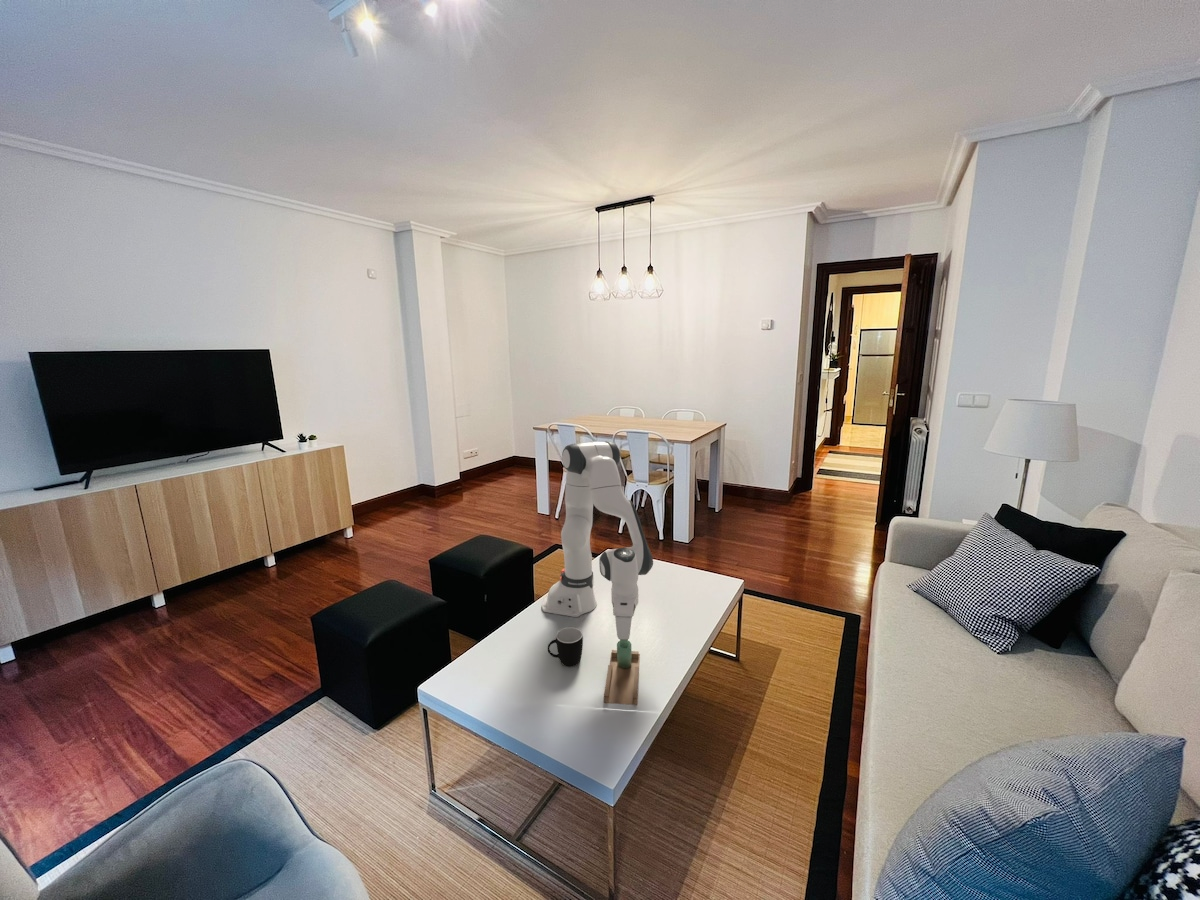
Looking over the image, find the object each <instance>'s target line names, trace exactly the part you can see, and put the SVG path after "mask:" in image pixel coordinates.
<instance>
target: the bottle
mask: <svg viewBox="0 0 1200 900" xmlns="http://www.w3.org/2000/svg"><path fill="white" fill-rule="evenodd" d="M616 650H617V665H618V666H619V667H620V668H622V669H628V668H629V667H630V666H631V664H632V652H631V651H632V643H631V641H630V640H629V639H628V640H622V639H619V641H617V643H616Z"/></svg>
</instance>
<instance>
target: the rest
mask: <svg viewBox="0 0 1200 900" xmlns="http://www.w3.org/2000/svg"><path fill="white" fill-rule="evenodd" d="M631 652H632V664H631V666H630V667H629V668H628V669H622V668H620V667H619V666H618V665H617V649H611V652H610V660H609V664H608V666H607V670H606V671H607V672H606V678H605V685H604V692H603V703H605V704H607V703H608V704H618V705H621V704H622V705H631V706H632V705H633V706H638V697H639V678H640V659H641V653H639V652H640V651H638V650H637V651H635V650H631Z"/></svg>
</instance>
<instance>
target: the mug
mask: <svg viewBox="0 0 1200 900" xmlns="http://www.w3.org/2000/svg"><path fill="white" fill-rule="evenodd" d="M553 644H556V650H557V653H556V654H554V653H553V652H552V651H551V650H550V648H551V646H552V645H553ZM583 644H584V635H583V632H582V630H581V629H579V628H577V627H572V626H569V627H563V628H561V629H559V630H558V631H557V632H556V634H555V639H553V640H551V641H550V642H549V643H548V644H547V652H548V654H549V655H550V656H551V657H552V658H556V659H558V660H559V662H560V664H561V665H563V666H564V667H567V668H571V667H575V666H577V665H579V664H580V662H581V659H582V654H583V646H584V645H583Z"/></svg>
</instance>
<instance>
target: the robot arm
mask: <svg viewBox="0 0 1200 900" xmlns="http://www.w3.org/2000/svg"><path fill="white" fill-rule="evenodd" d="M620 451H621V450H620V449H619V447H618V445H617V444H616V443H614V442H612V441H588V442H581V443H571V444H568V445H566V446H565V447H563V450H562V452H561V462H562V466H563V467H564V470H566V475H565V486H564V487H565V488H564V489H565V490H564V491H565V492H564V504H565V518H564V519H565V520H564V523H563V526H562V528H561V531H560V533H561V534H560V540H561V545H562V551H563V556H564V568H562V569H561V571H560V576H559V580H558V581H557V582H555V583H553V585H552V586H551V587H550V588H549V590H548V593H547V595H548V596H547V595H545V596H544V598H543V600H542V603H541V611H543V612H544V613H549V614H555V615H561V616H566V617H573V618H579V617H580V616H582V615H583V614H586V613H590V612H592V611H594V609H595V608H596V607H597V600H596V596H595V592H594V583H595V582H594V572H593V558H592V557H593V555H592V552H591V539H590V538H591V531H592V528H593V519H594V518H593V517H594V514H593V513H594V507H595V509H597V510H598V511H599V512H602V513H604V514H606V515H611V516H613V517H614V516H615V517H617V518H620V519H622V520H623V521H624V522H625V523H626V525H627V526H626V527H627V529H628V533H629V535H630V539H631V541H632V542H631V543H632V545H631V546H627V547H618V548H613V549H608V550H607V549H606V550H605V551H603V552H602V554H601V555H600V557H599V561H598V562H599V572H600V575H601V576H602V577H603V578H604V579H606V580H607V581H609V582H611V604H612V611H613V613H612V614H613V616H614V618H615V620H614V621H615V629H616V630H615V631H616V636H617V639H618V640H620V639H622V640H628V641H629V639H630V636H631V629H632V621H633V617H634V615H635V611H636V608H637V606H638V604H639V586H638V580H639V576H645V575H648V573H650V571H651V569H653V566H654V559H653V558H654V557H653V555H652V552H651V550H650V547H649V545H648V542H647V539H646V536H645V534H644V533H645V532H644V529H643V527H642V524H641V520H640V516H639V515H638V514H639V513H638V511H637V509H636V507H635V505H634V503H633V501H632V500H630V499H628V498H627V497H626V495H625V494H624V493H625V492H624V491H623V487H622V480H621V475H620V472H619V468H618V465H619V463H620V460H621V452H620Z"/></svg>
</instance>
